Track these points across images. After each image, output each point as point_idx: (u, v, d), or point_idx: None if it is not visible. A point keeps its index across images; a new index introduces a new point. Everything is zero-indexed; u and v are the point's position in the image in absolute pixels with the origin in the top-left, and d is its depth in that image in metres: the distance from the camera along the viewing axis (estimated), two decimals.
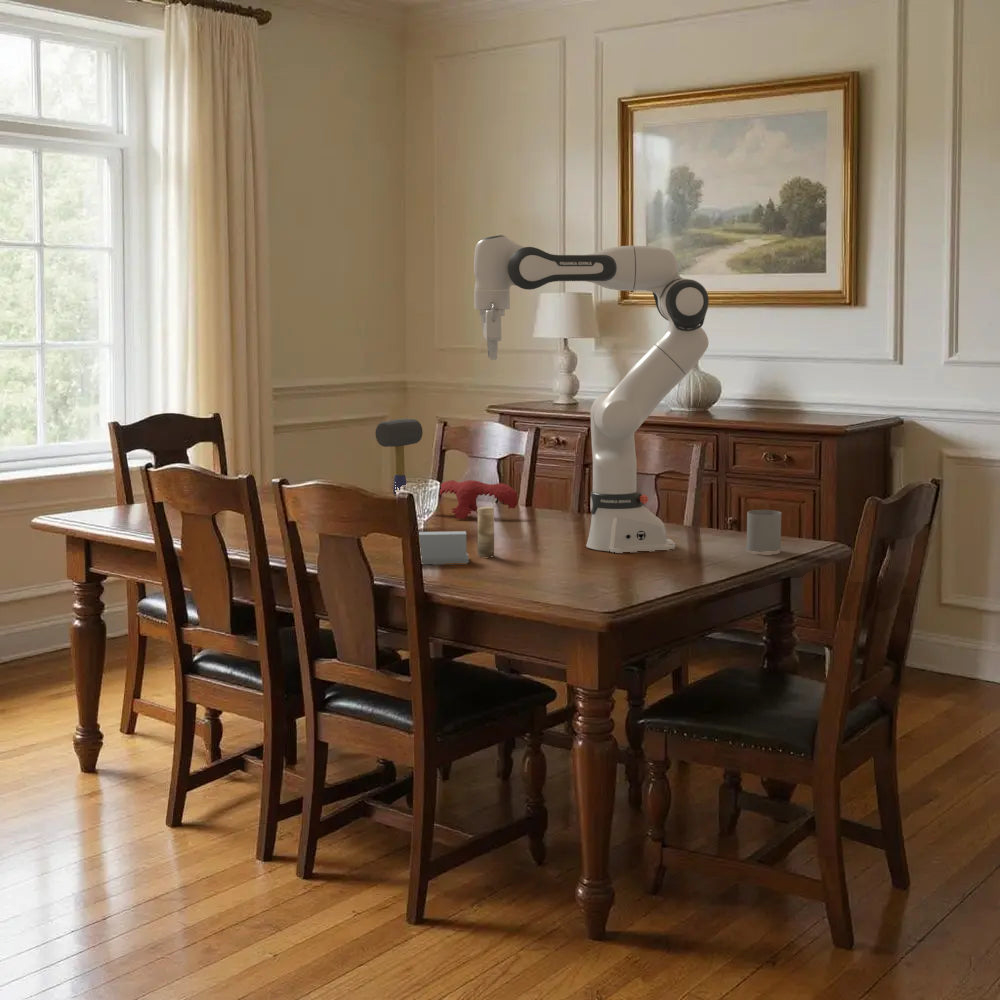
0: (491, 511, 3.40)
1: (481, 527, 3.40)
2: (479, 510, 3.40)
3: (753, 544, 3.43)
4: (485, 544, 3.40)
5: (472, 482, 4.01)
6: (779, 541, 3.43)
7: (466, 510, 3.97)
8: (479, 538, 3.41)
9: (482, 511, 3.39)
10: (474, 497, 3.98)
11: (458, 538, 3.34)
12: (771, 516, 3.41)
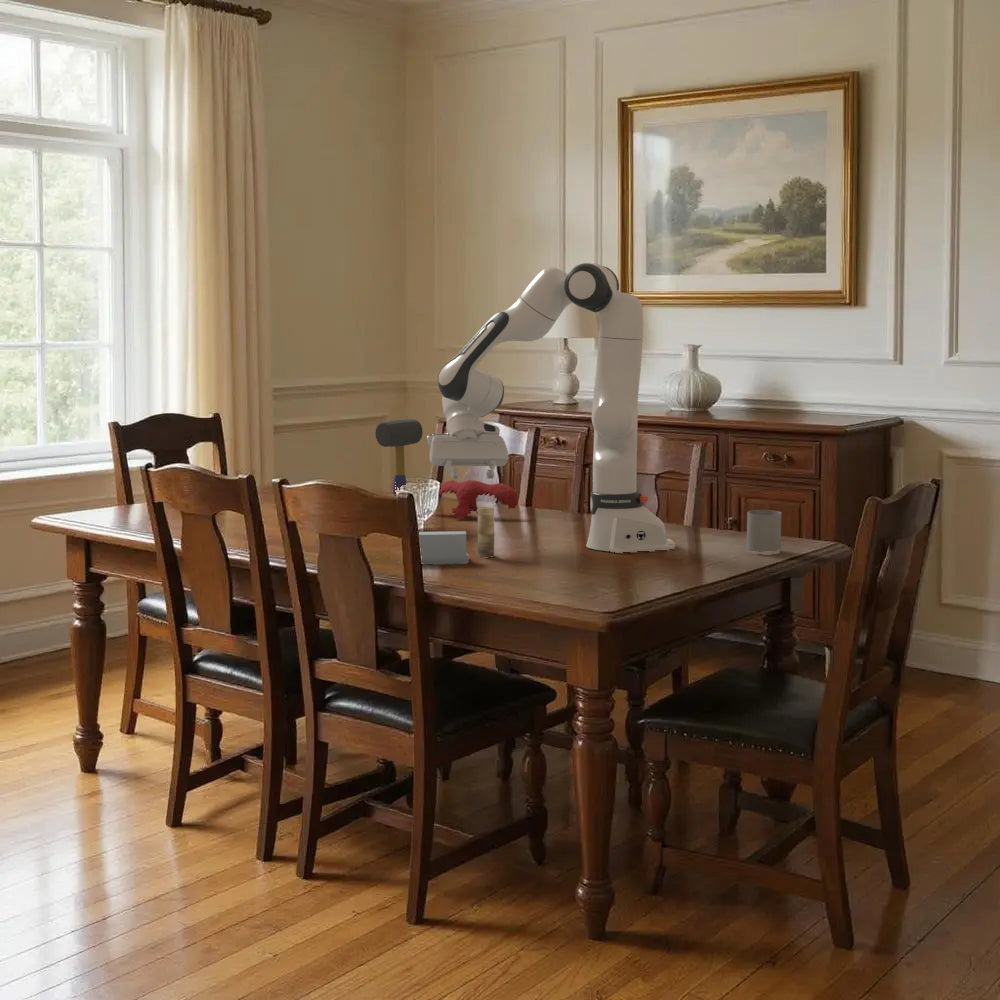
0: (491, 511, 3.40)
1: (481, 527, 3.40)
2: (479, 510, 3.40)
3: (753, 544, 3.43)
4: (485, 544, 3.40)
5: (472, 482, 4.01)
6: (779, 541, 3.43)
7: (466, 510, 3.97)
8: (479, 538, 3.41)
9: (482, 511, 3.39)
10: (474, 497, 3.98)
11: (458, 538, 3.34)
12: (771, 516, 3.41)
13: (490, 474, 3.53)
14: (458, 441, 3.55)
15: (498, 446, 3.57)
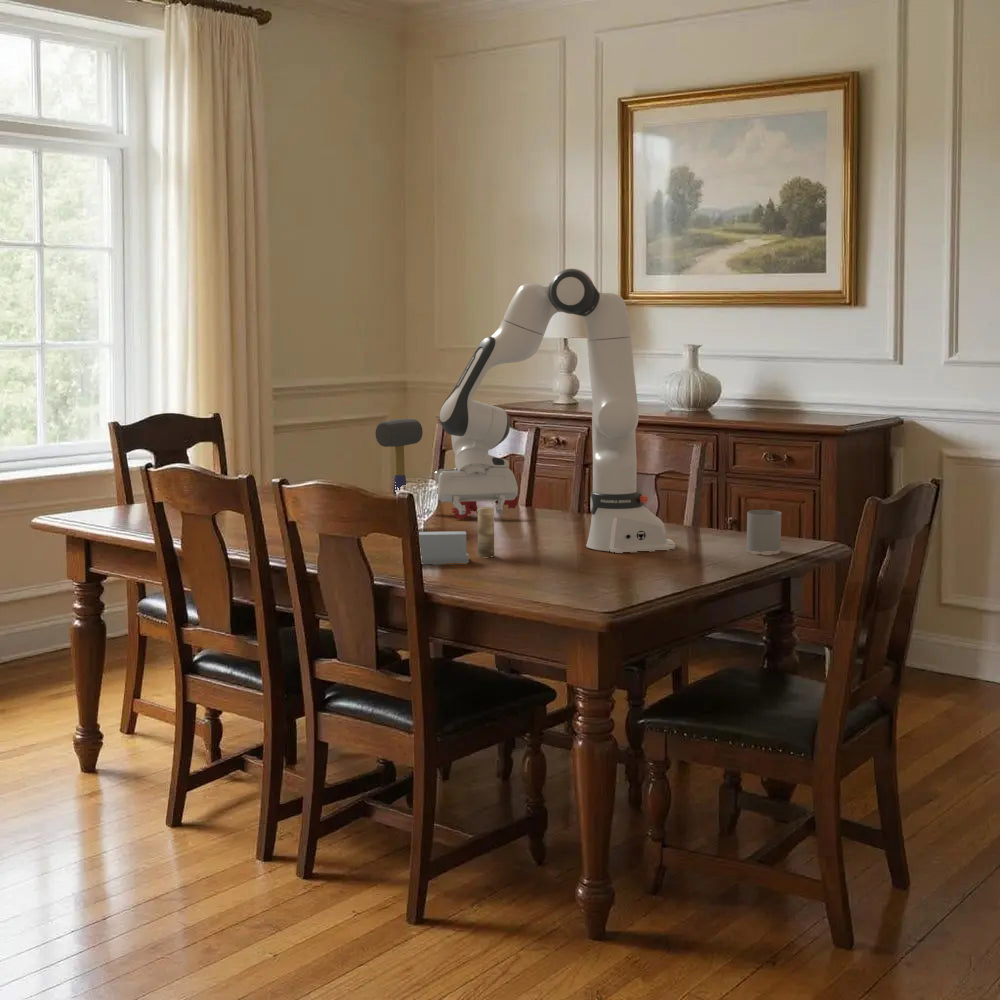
0: (491, 511, 3.40)
1: (481, 527, 3.40)
2: (479, 510, 3.40)
3: (753, 544, 3.43)
4: (485, 544, 3.40)
5: None
6: (779, 541, 3.43)
7: (466, 510, 3.97)
8: (479, 538, 3.41)
9: (482, 511, 3.39)
10: None
11: (458, 538, 3.34)
12: (771, 516, 3.41)
13: (499, 509, 3.46)
14: (466, 476, 3.50)
15: (507, 479, 3.51)
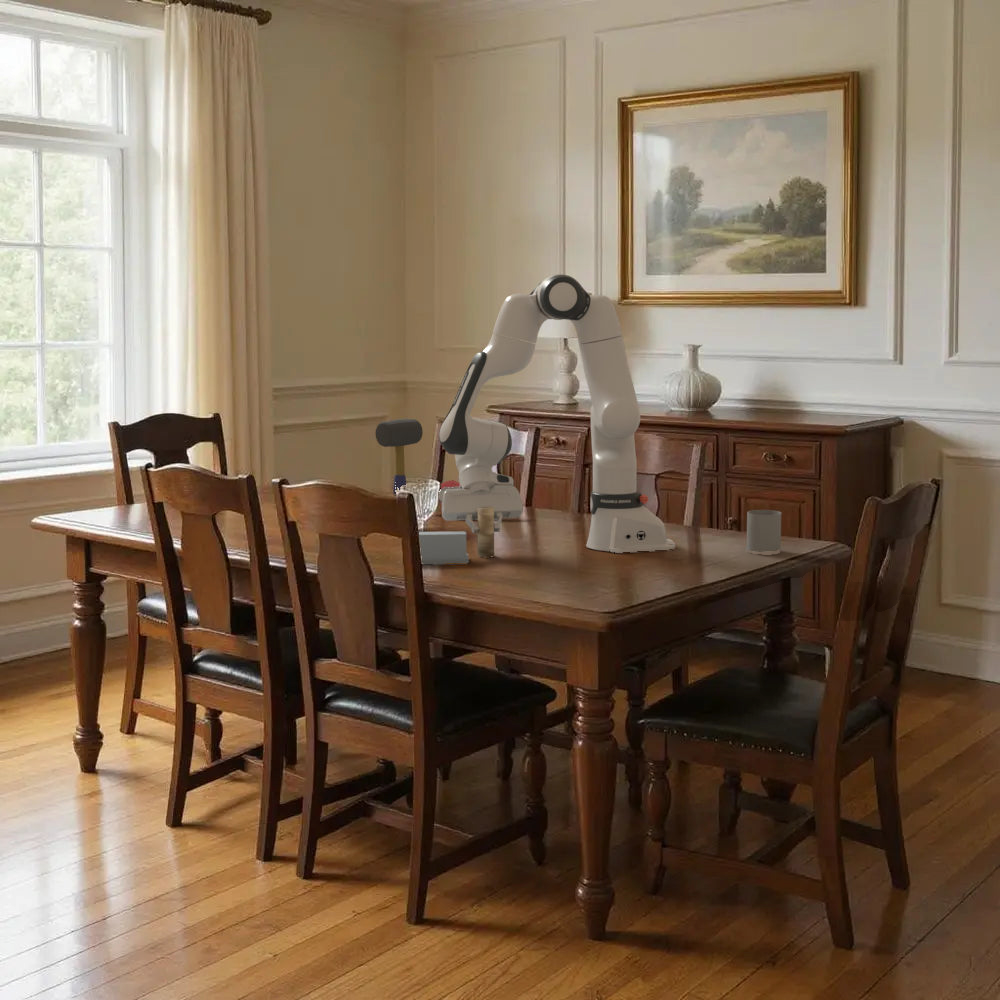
0: (491, 511, 3.40)
1: (481, 526, 3.40)
2: (479, 510, 3.40)
3: (753, 544, 3.43)
4: (485, 544, 3.40)
5: None
6: (779, 541, 3.43)
7: None
8: (479, 538, 3.41)
9: (482, 511, 3.39)
10: None
11: (458, 538, 3.34)
12: (771, 516, 3.41)
13: (496, 527, 3.41)
14: (470, 494, 3.45)
15: (512, 497, 3.47)
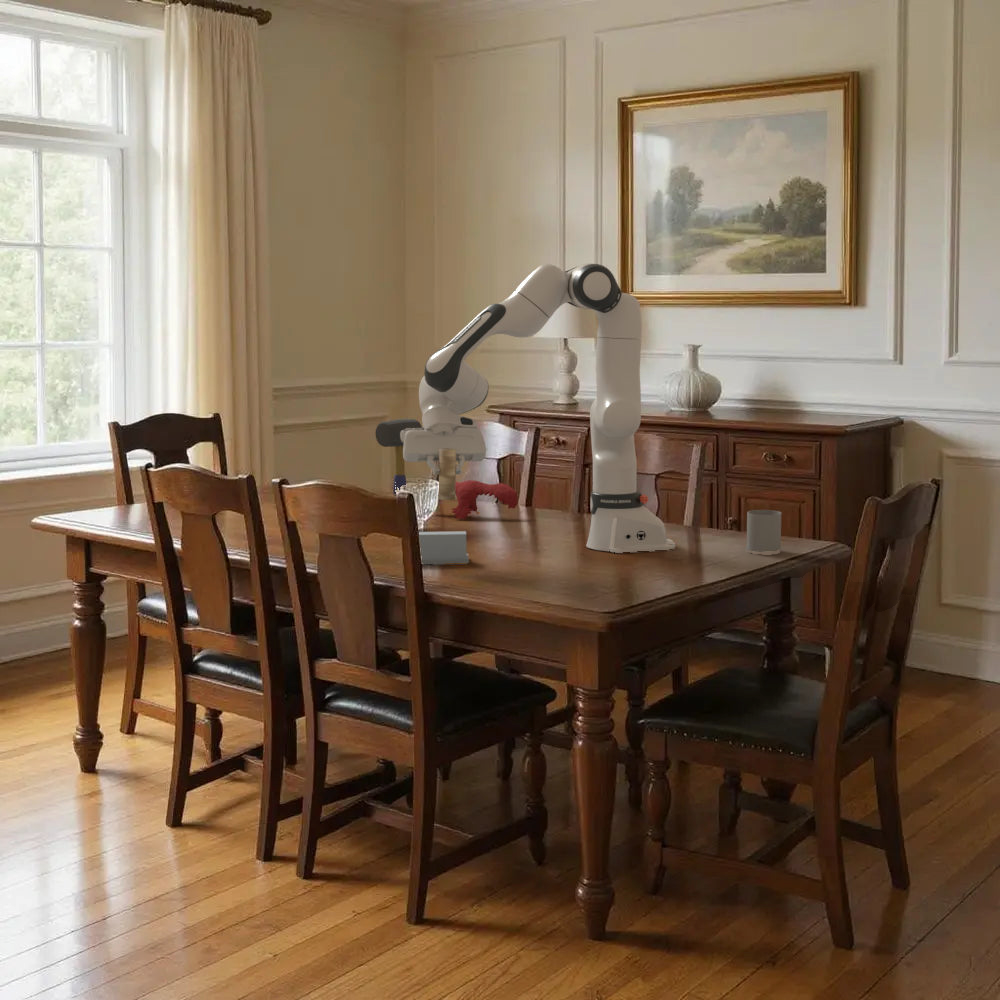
0: (452, 452, 3.33)
1: (443, 468, 3.33)
2: (441, 451, 3.33)
3: (753, 544, 3.43)
4: (446, 486, 3.34)
5: (472, 482, 4.01)
6: (779, 541, 3.43)
7: (466, 510, 3.97)
8: (440, 480, 3.34)
9: (444, 452, 3.33)
10: (474, 497, 3.98)
11: (458, 538, 3.34)
12: (771, 516, 3.41)
13: (458, 469, 3.35)
14: (433, 436, 3.39)
15: (476, 440, 3.40)
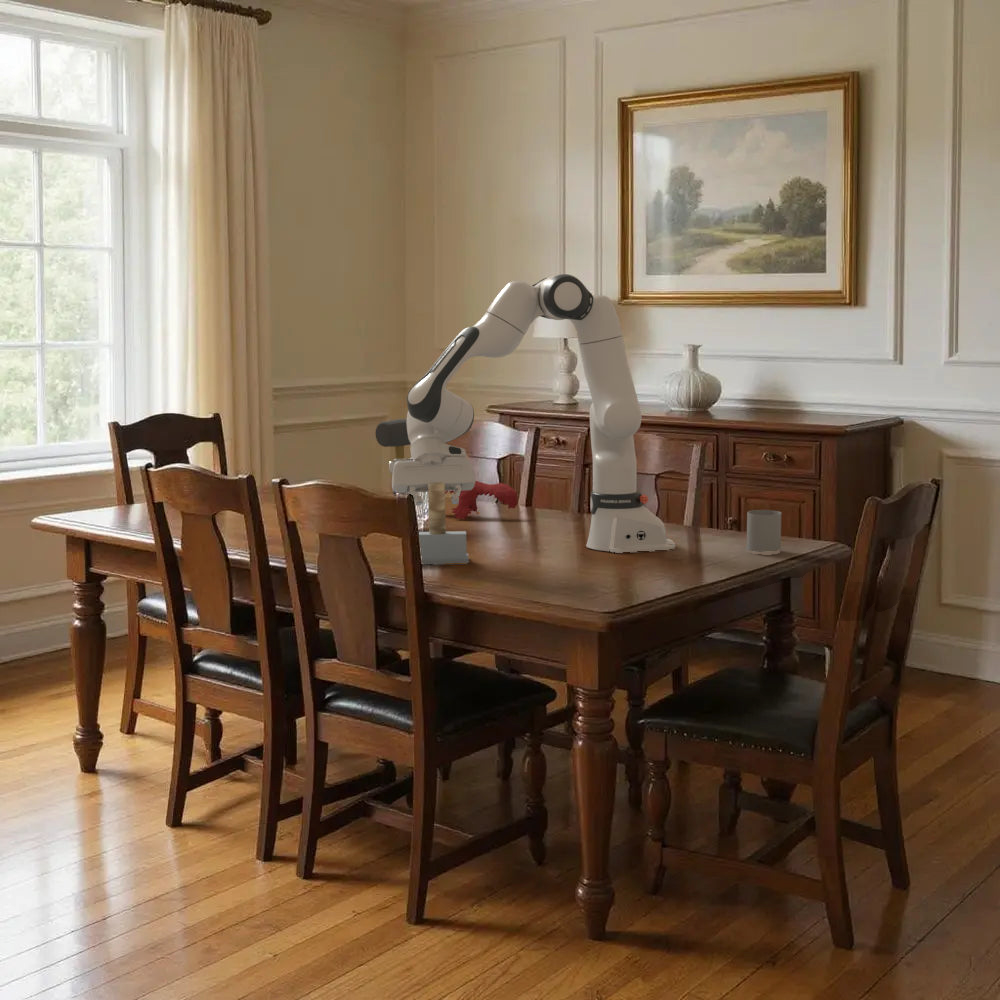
0: (441, 486, 3.32)
1: (432, 502, 3.33)
2: (429, 485, 3.33)
3: (753, 544, 3.43)
4: (436, 520, 3.33)
5: None
6: (779, 541, 3.43)
7: (466, 510, 3.97)
8: (430, 514, 3.34)
9: (432, 486, 3.32)
10: (474, 497, 3.98)
11: (458, 538, 3.34)
12: (771, 516, 3.41)
13: (454, 499, 3.34)
14: (421, 466, 3.38)
15: (465, 469, 3.39)
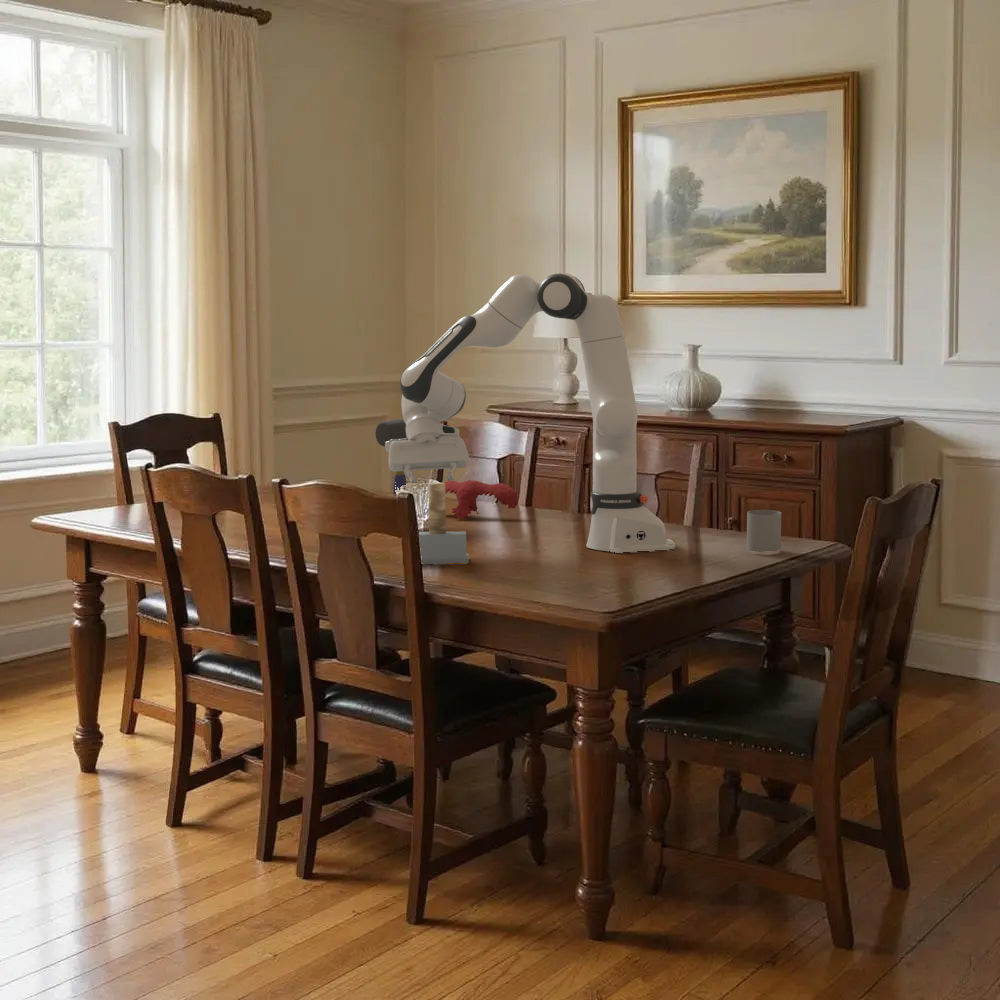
0: (442, 486, 3.32)
1: (432, 502, 3.33)
2: (430, 485, 3.33)
3: (753, 544, 3.43)
4: (436, 520, 3.33)
5: (472, 482, 4.01)
6: (779, 541, 3.43)
7: (466, 510, 3.97)
8: (430, 514, 3.34)
9: (433, 486, 3.32)
10: (474, 497, 3.98)
11: (458, 538, 3.34)
12: (771, 516, 3.41)
13: (450, 476, 3.47)
14: (417, 445, 3.51)
15: (458, 447, 3.52)
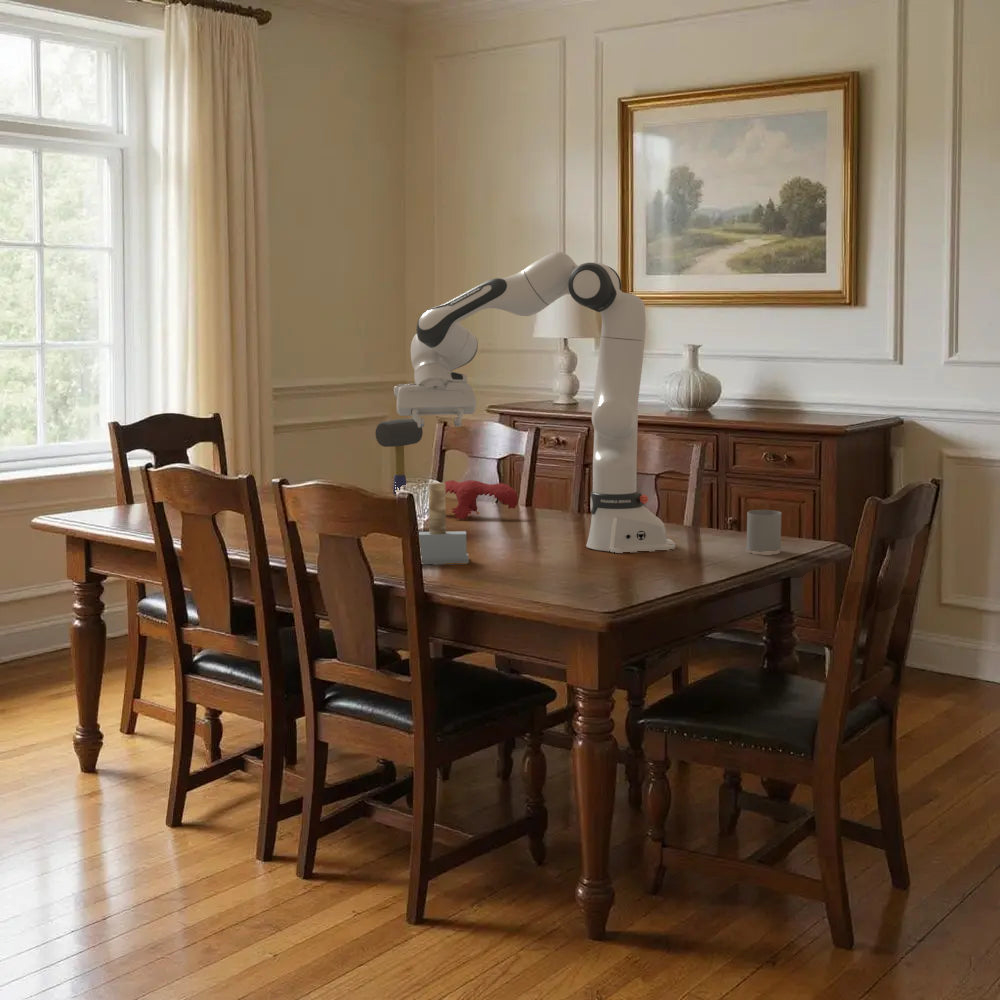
0: (442, 486, 3.32)
1: (432, 502, 3.33)
2: (430, 485, 3.33)
3: (753, 544, 3.43)
4: (436, 520, 3.33)
5: (472, 482, 4.01)
6: (779, 541, 3.43)
7: (466, 510, 3.97)
8: (430, 514, 3.34)
9: (433, 486, 3.32)
10: (474, 497, 3.98)
11: (458, 538, 3.34)
12: (771, 516, 3.41)
13: (457, 422, 3.50)
14: (425, 390, 3.53)
15: (466, 393, 3.54)
